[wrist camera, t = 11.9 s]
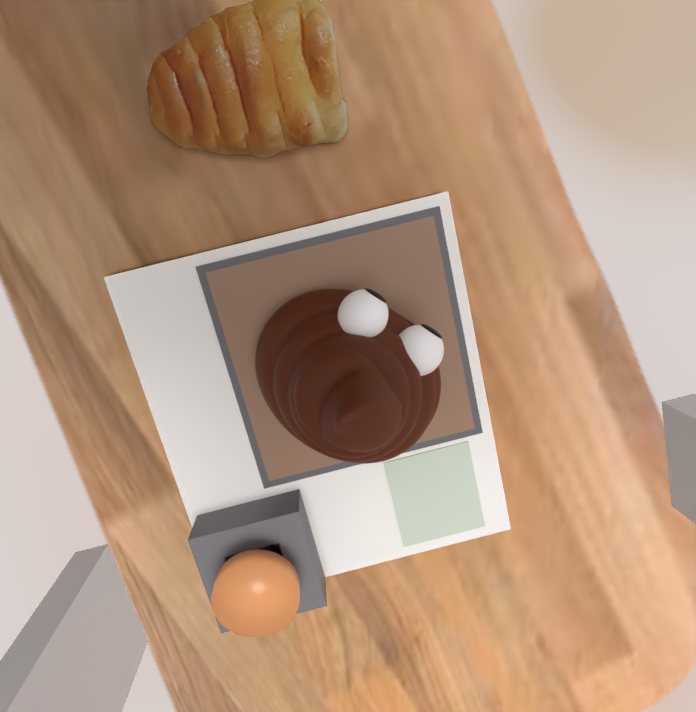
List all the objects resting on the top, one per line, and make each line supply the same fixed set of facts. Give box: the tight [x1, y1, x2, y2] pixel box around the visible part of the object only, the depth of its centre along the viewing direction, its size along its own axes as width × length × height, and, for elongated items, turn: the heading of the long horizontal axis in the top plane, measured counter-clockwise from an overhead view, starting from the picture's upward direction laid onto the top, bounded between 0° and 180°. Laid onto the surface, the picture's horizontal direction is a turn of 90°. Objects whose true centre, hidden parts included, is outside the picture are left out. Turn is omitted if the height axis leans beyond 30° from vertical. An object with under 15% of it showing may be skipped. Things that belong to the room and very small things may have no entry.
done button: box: [211, 544, 300, 637], centre depth 29 cm, size 4×4×3 cm
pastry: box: [147, 0, 348, 158], centre depth 25 cm, size 9×7×4 cm
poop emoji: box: [255, 288, 444, 464], centre depth 25 cm, size 10×8×9 cm
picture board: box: [104, 191, 511, 633], centre depth 29 cm, size 20×18×4 cm
